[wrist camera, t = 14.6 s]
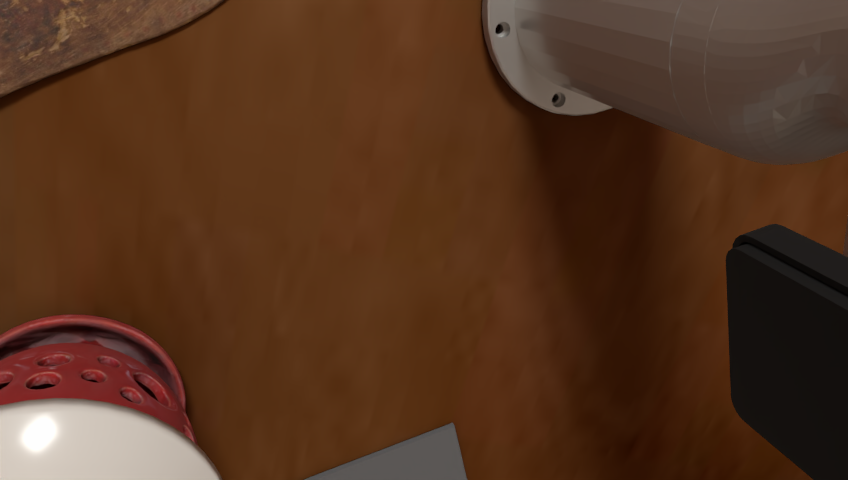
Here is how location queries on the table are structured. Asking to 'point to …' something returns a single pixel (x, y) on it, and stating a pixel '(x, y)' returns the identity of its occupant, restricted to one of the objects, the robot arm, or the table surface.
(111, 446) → the lid
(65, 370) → the plant pot
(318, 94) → the table surface
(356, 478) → the mat
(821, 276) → the robot arm
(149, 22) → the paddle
